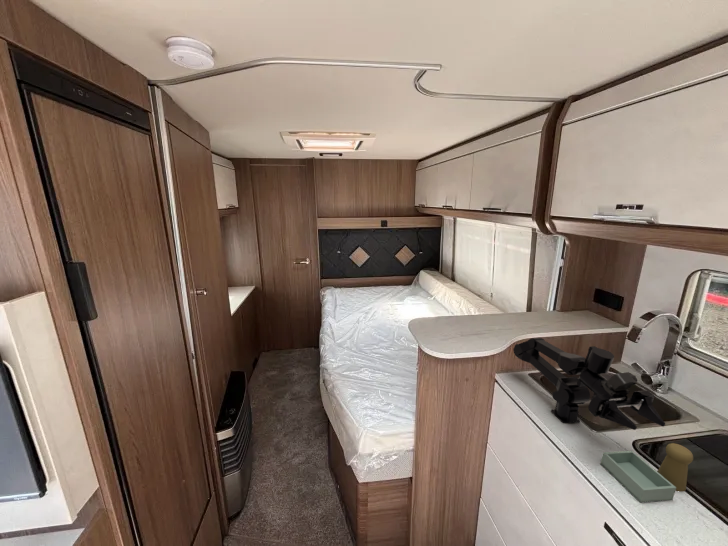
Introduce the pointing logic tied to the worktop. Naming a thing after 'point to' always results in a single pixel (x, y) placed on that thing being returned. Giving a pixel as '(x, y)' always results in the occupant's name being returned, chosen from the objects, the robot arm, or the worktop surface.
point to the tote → (638, 476)
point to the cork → (676, 465)
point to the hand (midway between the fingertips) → (650, 426)
